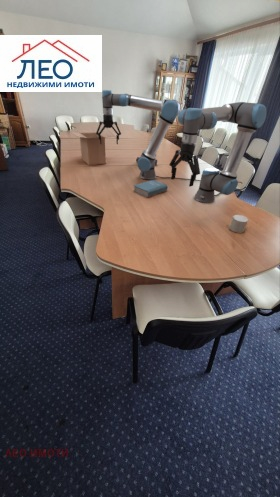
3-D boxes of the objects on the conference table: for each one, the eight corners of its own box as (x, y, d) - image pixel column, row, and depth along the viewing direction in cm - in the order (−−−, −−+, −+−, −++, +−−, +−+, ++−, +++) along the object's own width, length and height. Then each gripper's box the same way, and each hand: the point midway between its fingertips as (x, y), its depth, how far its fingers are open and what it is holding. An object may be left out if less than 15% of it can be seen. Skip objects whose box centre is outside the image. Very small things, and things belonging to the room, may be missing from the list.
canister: (226, 227, 139) (230, 216, 134) (235, 224, 143) (239, 213, 138) (237, 234, 133) (242, 223, 129) (246, 230, 137) (251, 219, 133)
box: (116, 165, 229) (116, 136, 213) (83, 168, 214) (80, 137, 198) (102, 154, 259) (101, 128, 243) (71, 156, 244) (68, 129, 228)
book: (152, 185, 190) (153, 179, 187) (167, 191, 181) (167, 185, 178) (133, 191, 176) (133, 185, 173) (147, 198, 167) (148, 191, 164)
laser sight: (155, 166, 234) (156, 156, 228) (135, 164, 237) (135, 154, 231) (157, 164, 242) (158, 154, 236) (137, 161, 245) (137, 152, 239)
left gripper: (91, 114, 167) (94, 144, 179) (124, 115, 171) (124, 144, 184) (91, 113, 173) (93, 143, 185) (123, 114, 177) (123, 143, 190)
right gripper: (166, 139, 121) (161, 177, 134) (204, 148, 107) (195, 190, 119) (175, 137, 125) (170, 175, 138) (212, 147, 111) (203, 187, 124)
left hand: (109, 144), depth 185 cm, fingers open, 13 cm apart
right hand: (181, 182), depth 129 cm, fingers open, 13 cm apart
